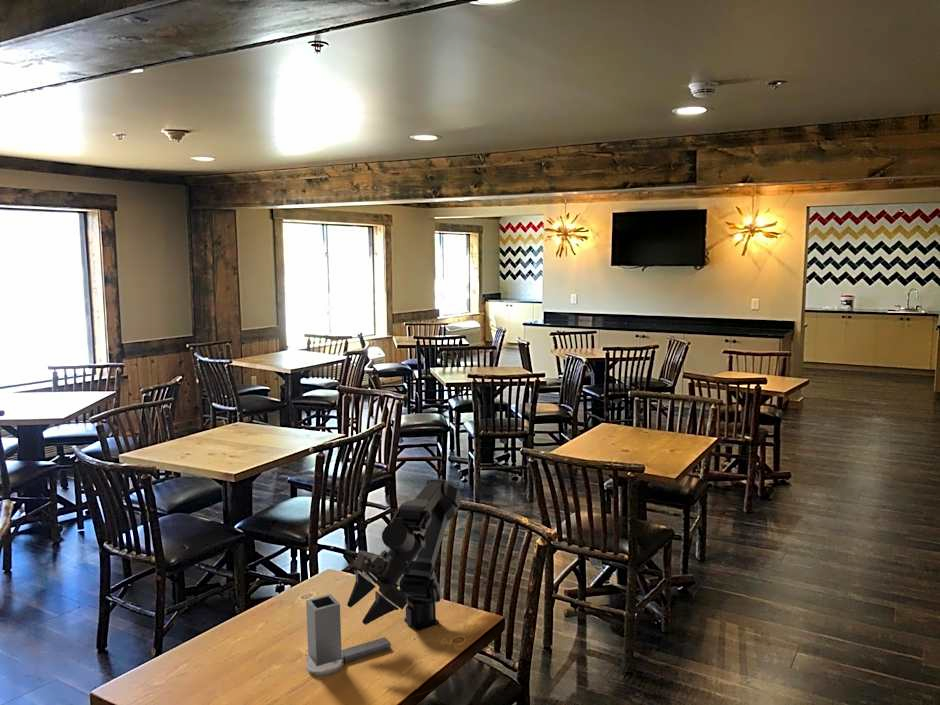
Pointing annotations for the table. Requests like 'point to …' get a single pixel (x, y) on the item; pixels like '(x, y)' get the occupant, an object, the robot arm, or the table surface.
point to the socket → (324, 629)
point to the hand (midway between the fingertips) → (355, 614)
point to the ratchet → (348, 656)
